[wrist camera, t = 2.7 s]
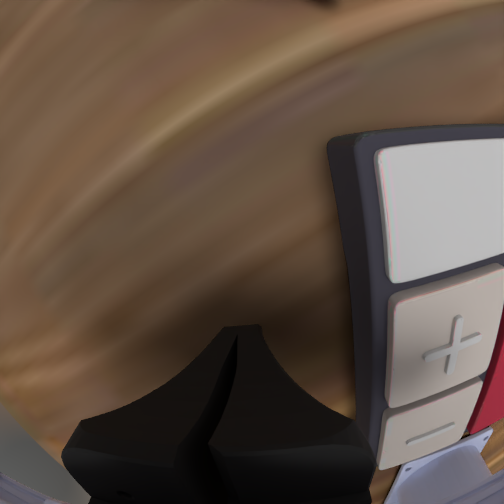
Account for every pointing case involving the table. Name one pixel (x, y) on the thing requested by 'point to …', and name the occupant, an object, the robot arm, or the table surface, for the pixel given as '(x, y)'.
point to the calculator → (424, 281)
